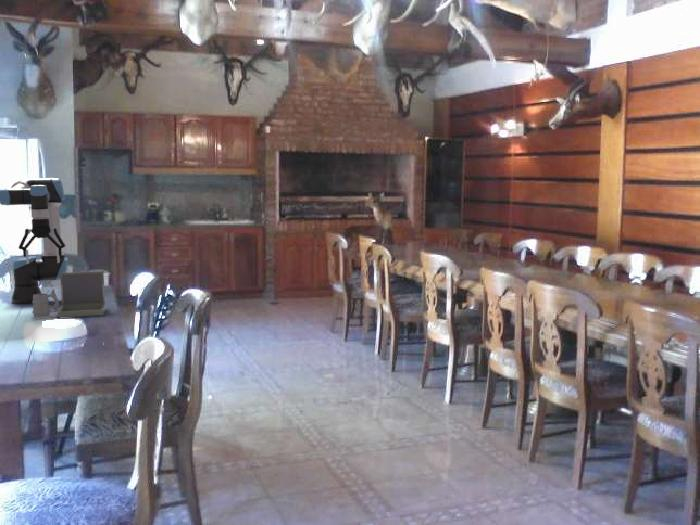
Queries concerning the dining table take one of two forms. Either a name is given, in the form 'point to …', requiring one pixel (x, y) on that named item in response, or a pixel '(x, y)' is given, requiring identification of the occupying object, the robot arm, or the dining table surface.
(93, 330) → the dining table surface
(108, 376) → the dining table surface
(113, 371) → the dining table surface
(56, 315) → the trivet
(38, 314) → the mug
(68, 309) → the case
